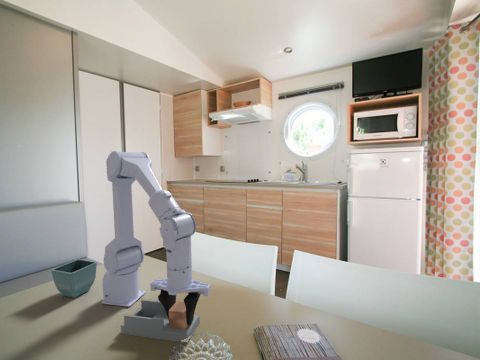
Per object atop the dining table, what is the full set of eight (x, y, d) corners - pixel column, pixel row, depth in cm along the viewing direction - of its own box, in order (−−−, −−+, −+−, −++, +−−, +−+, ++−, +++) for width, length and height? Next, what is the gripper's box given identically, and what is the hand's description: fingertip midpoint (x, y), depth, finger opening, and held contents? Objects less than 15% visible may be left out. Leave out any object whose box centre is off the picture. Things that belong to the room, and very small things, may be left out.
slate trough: (121, 333, 57) (120, 315, 57) (139, 315, 64) (138, 299, 63) (187, 343, 53) (187, 323, 53) (199, 323, 60) (199, 305, 60)
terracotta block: (169, 327, 56) (168, 310, 55) (177, 316, 59) (176, 301, 59) (185, 329, 55) (184, 312, 55) (192, 318, 59) (191, 302, 58)
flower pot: (72, 303, 70) (71, 273, 70) (52, 298, 73) (50, 269, 73) (99, 288, 79) (97, 261, 78) (79, 284, 81) (78, 258, 81)
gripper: (141, 270, 54) (144, 328, 55) (202, 275, 51) (204, 336, 52) (158, 258, 61) (160, 310, 62) (212, 262, 58) (214, 316, 59)
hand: (181, 321), depth 57 cm, fingers closed on terracotta block, 4 cm apart
